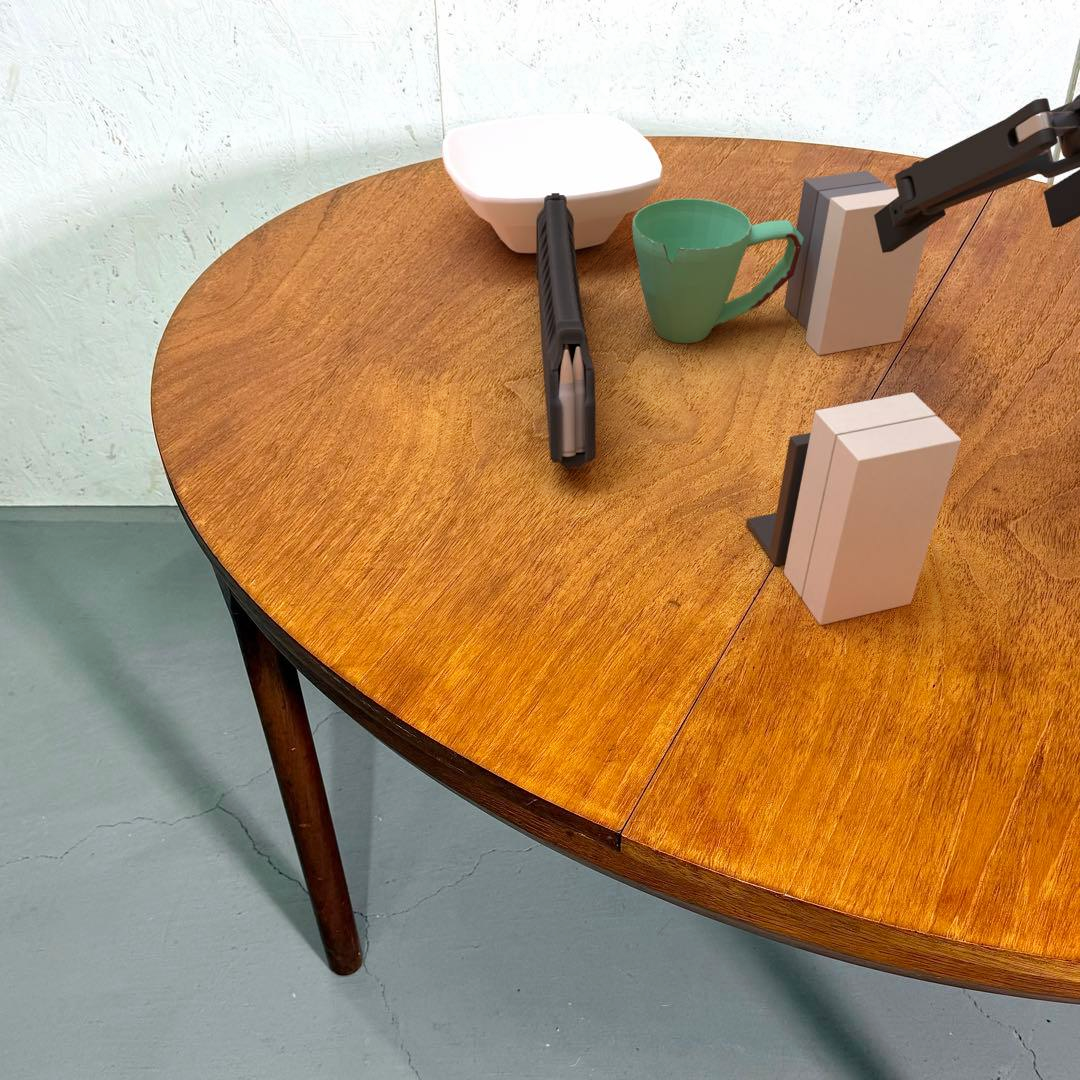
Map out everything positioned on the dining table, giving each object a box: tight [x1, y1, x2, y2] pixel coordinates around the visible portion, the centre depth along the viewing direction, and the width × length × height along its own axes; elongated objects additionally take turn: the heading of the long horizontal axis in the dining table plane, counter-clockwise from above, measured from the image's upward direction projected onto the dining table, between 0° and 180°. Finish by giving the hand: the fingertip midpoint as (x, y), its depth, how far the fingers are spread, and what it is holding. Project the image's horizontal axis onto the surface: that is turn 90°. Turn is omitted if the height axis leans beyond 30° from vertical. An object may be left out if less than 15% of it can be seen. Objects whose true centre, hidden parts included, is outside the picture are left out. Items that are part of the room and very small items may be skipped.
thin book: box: [804, 187, 930, 356], centre depth 88 cm, size 8×2×13 cm, turn 107°
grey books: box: [783, 170, 893, 331], centre depth 92 cm, size 6×5×12 cm
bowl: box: [441, 112, 664, 254], centre depth 106 cm, size 21×21×9 cm
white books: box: [745, 391, 962, 626], centre depth 67 cm, size 7×10×13 cm
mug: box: [631, 197, 804, 344], centre depth 91 cm, size 15×10×10 cm
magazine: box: [535, 193, 597, 469], centre depth 86 cm, size 17×3×30 cm
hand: (968, 221), depth 75 cm, fingers open, 13 cm apart
